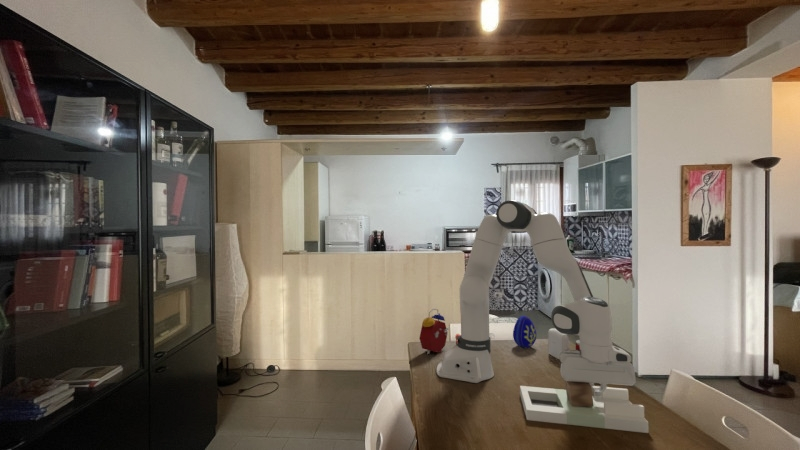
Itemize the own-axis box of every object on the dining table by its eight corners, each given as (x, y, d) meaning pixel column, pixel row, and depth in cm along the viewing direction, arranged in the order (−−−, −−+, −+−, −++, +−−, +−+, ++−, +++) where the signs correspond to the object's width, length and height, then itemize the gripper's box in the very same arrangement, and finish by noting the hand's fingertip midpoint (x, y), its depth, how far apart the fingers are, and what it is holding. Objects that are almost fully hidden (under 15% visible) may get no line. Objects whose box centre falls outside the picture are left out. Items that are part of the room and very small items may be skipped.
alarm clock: (436, 345, 167) (436, 304, 167) (452, 349, 161) (451, 307, 161) (419, 354, 155) (418, 310, 155) (435, 358, 150) (434, 313, 150)
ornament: (523, 352, 157) (523, 319, 157) (508, 346, 165) (508, 315, 165) (539, 347, 162) (539, 316, 163) (524, 342, 170) (524, 312, 171)
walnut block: (572, 406, 103) (569, 386, 103) (566, 396, 109) (564, 377, 109) (593, 406, 102) (591, 386, 102) (587, 396, 107) (585, 377, 108)
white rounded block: (546, 353, 155) (546, 326, 155) (555, 352, 156) (554, 325, 156) (562, 362, 145) (561, 333, 145) (571, 361, 146) (570, 332, 146)
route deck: (526, 419, 101) (526, 399, 101) (520, 394, 117) (519, 376, 117) (648, 433, 94) (648, 411, 94) (623, 404, 110) (623, 385, 110)
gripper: (562, 352, 104) (563, 398, 103) (637, 357, 99) (638, 404, 99) (557, 345, 110) (558, 389, 110) (627, 349, 105) (629, 394, 105)
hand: (597, 396), depth 104 cm, fingers closed
